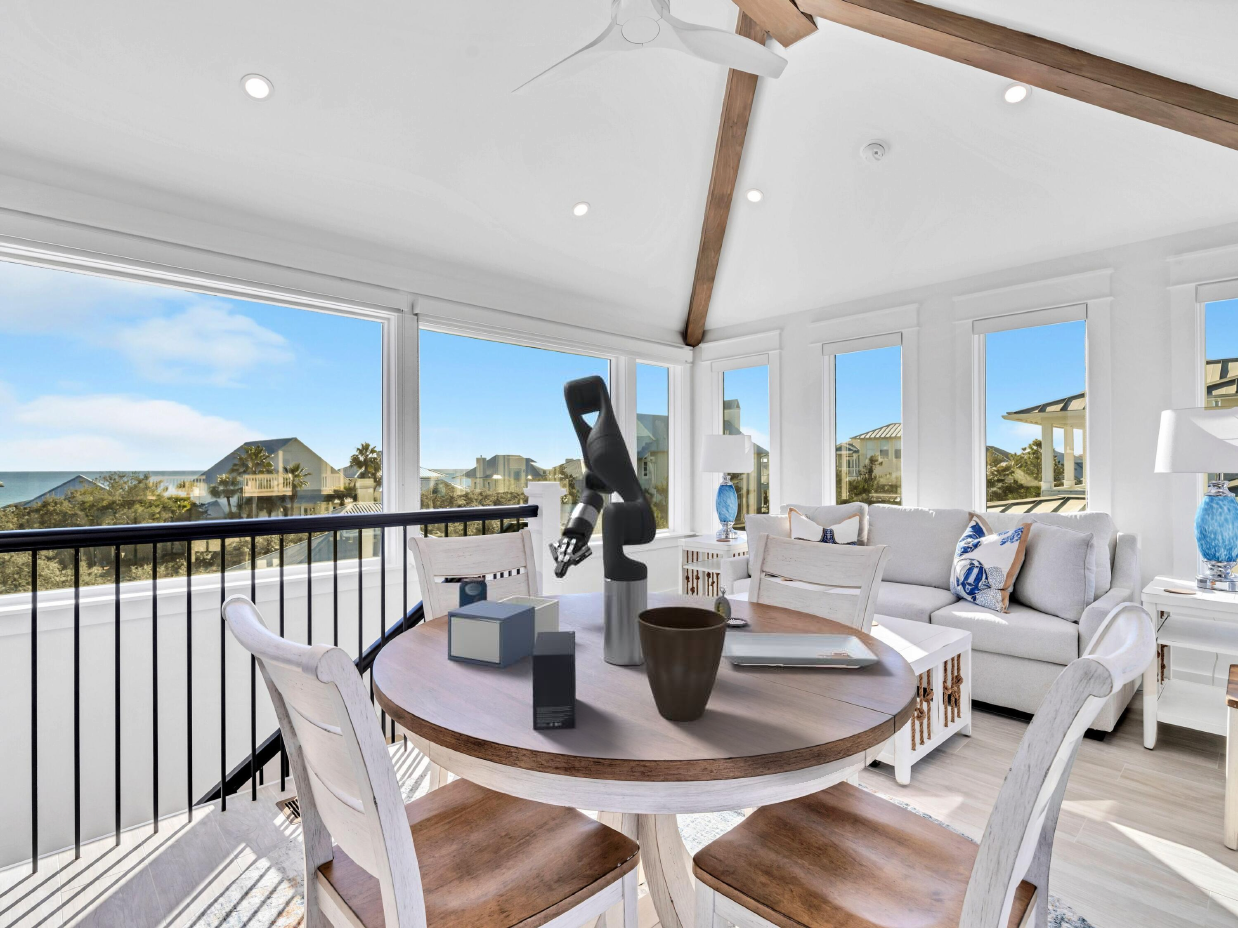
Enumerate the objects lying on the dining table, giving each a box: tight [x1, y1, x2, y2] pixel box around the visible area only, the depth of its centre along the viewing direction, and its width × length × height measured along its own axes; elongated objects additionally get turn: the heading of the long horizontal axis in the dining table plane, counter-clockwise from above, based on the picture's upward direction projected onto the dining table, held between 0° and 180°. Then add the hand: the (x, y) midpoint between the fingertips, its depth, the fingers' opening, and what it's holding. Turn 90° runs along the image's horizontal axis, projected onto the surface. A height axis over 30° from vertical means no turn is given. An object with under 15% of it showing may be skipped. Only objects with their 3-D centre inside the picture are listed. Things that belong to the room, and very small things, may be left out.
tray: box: [721, 631, 880, 667], centre depth 133 cm, size 17×31×4 cm, turn 86°
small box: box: [531, 630, 577, 731], centre depth 103 cm, size 13×7×12 cm, turn 4°
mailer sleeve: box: [447, 600, 535, 669], centre depth 134 cm, size 14×12×10 cm
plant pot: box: [637, 605, 728, 722], centre depth 103 cm, size 15×15×16 cm
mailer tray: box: [451, 595, 560, 663], centre depth 139 cm, size 12×24×8 cm, turn 155°
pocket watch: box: [713, 586, 748, 627], centre depth 160 cm, size 8×8×10 cm
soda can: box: [458, 576, 488, 608], centre depth 158 cm, size 7×7×12 cm
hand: (558, 576), depth 159 cm, fingers closed
